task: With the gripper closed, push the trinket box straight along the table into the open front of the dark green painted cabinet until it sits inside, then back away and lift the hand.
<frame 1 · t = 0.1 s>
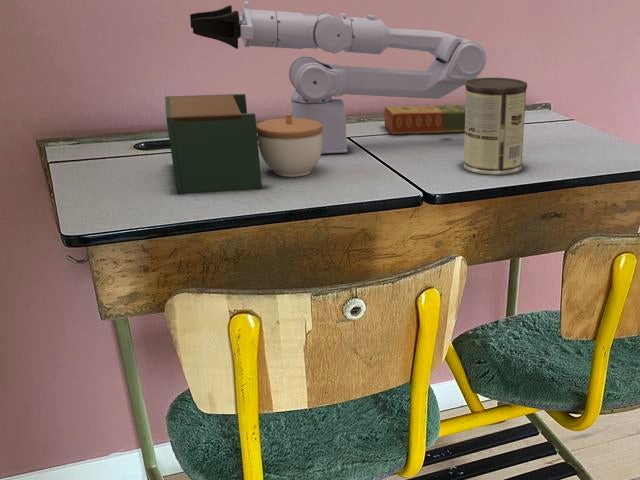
hand: (191, 23, 135), 22 cm above the table, tool horizontal, fingers open, 7 cm apart
carton: (426, 130, 167), on the table
cabinet: (219, 176, 134), on the table
trinket box: (292, 173, 137), on the table
coffee can: (492, 168, 142), on the table
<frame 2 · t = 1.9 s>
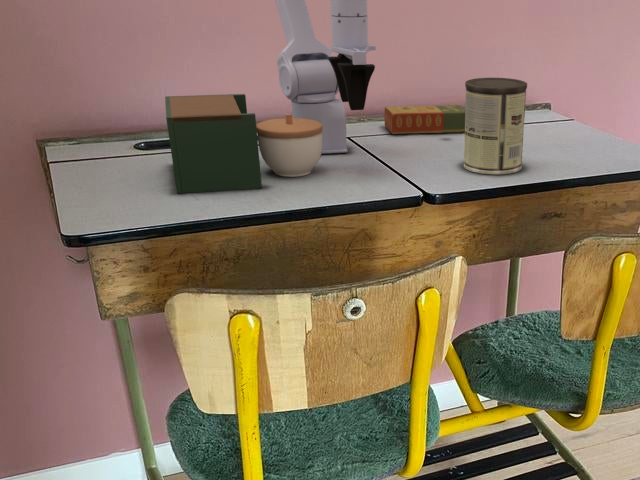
hand: (352, 105, 134), 10 cm above the table, tool pointing down, fingers open, 7 cm apart
nothing on the table moved.
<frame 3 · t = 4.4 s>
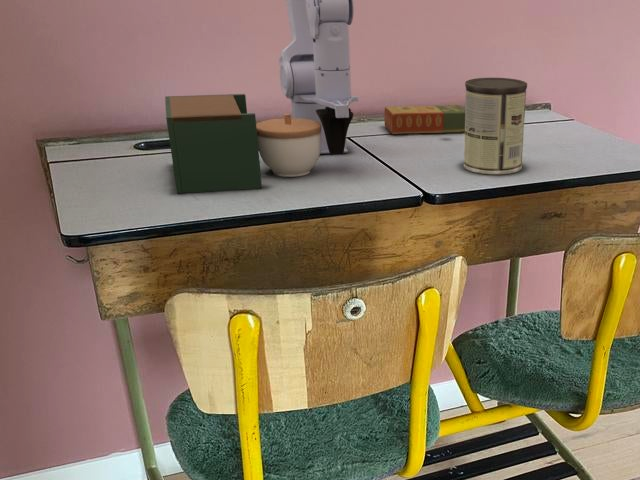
hand: (336, 153, 138), 3 cm above the table, tool pointing down, fingers closed, pressing on trinket box
trinket box: (291, 173, 137), on the table, touching gripper
everything else where it was.
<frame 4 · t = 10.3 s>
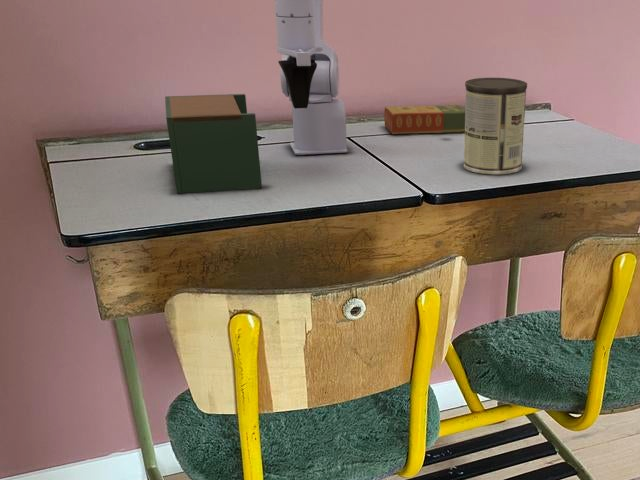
hand: (300, 107, 132), 10 cm above the table, tool pointing down, fingers closed
trinket box: (227, 176, 135), resting in cabinet
everything else where it was.
at the end: trinket box 0.7 cm from the target spot on the cabinet, point 0.0 cm above the cabinet's base; trinket box tilted 0° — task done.
